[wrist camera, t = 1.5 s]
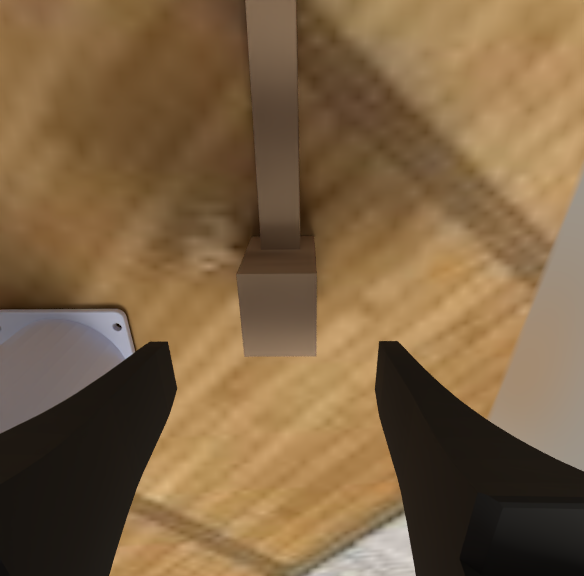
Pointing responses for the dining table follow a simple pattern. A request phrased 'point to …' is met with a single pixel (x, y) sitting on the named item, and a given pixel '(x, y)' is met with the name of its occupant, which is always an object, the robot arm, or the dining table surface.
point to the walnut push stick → (276, 196)
